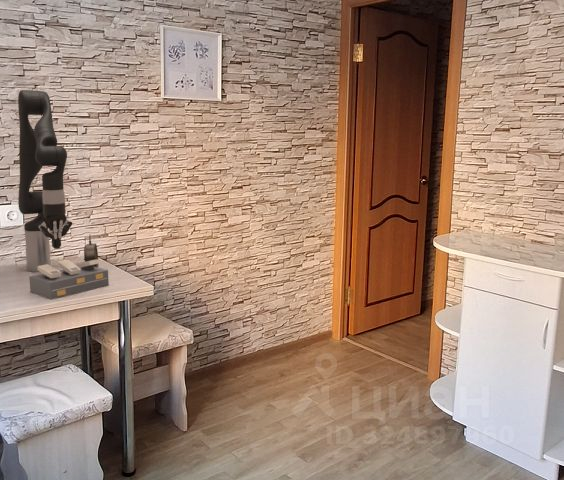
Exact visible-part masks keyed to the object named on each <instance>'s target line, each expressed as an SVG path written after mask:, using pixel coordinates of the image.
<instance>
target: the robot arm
mask: <svg viewBox="0 0 564 480" xmlns="http://www.w3.org/2000/svg"><path fill="white" fill-rule="evenodd" d="M17 105H18V119H19V120H18V122H19V123H18V124H19V147H18V151H19V153H18V155H19V156H18V157H19V185H18V199H17V200H18V201H17V204H18V209H19V212H20V214H22V215H33V214H37V216H36V217H34V218H33V219H31V220H29V221H26V222H25V223H24V225H23V227H24V239H25V257H26V259H25V260H26V269H27V271H28V272H33V273H34V272H35V273H36V272H37V273H39V271H38V266H41V265H47V264H48V265H50V266H52V265H51V264H52V261H51V249H50V239H51V246H52V248H53V249H55V250H58V249H61V247H62V237H65V236H67V233H68V232H69V230H70V229H71V227H72V225H73V221H71V220H68V218H67V216H66V213H67V212H66V197H65V190H64V189H65V188H64V173H65V167H66V163H67V159H68V152H67V150H66V148H65V147H64V146H61V145H58V138H57V135H56V132H55V128H54V123H53V113H52V105H51V99H50V96H49V94H48V92H46V91H44V90H30V89H29V90H28V89H22V90H20V91H19V92H18V96H17ZM29 116H41V117H40V118H39V120H38V121H37V122H36V124H35V125H34V128H33V126H32V125H31V122H30V120H29ZM51 166H53V167H55V169H54V170H52V171H48V172H45V173H43V174H42V176H41V181H42V182H41V184H42V190H37V191H36V190H35V191H33V190H32V191H30V188H31V186H32V184H33V181H34V179H35V178H36V177H37V176H38V174H39V173H40V171H41V170H42V168H43V167H51Z"/></svg>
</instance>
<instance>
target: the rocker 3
mask: <svg viewBox="0 0 564 480" xmlns="http://www.w3.org/2000/svg"><path fill="white" fill-rule="evenodd" d="M94 264H98V265H100V260H99V258H98V259H97V260H96V259H95V260H90V261H87V262H85V261H83V262H77V263H76V266H77V267H83V266H89V265H94Z"/></svg>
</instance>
